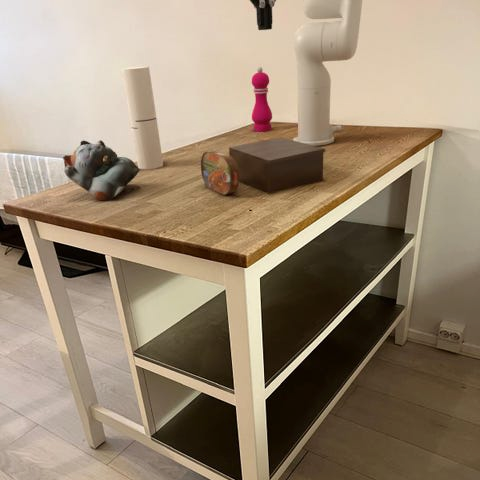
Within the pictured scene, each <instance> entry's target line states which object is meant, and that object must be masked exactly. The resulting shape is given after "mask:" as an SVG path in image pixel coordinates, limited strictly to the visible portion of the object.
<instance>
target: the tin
mask: <svg viewBox="0 0 480 480" xmlns="http://www.w3.org/2000/svg"><path fill="white" fill-rule="evenodd" d="M200 172H201V176H202V180H203V183H204V185H205V186H206V187H207V188H208V189H210V190H212V191H215V192H216V193H218V194H221V195H222V196H225V195H229V194H235V193H236V192H237V191H238V189H239V186H240V181H239V169H238V165H237V163H236V161H235V159H234V158H233V157H231V156H230V155H228V154H226V153H222V152H220V151H216V150H214V151H212V150H211V151H204V152H203V154H202V155H201V159H200Z"/></svg>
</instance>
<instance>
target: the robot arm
mask: <svg viewBox="0 0 480 480" xmlns="http://www.w3.org/2000/svg"><path fill="white" fill-rule="evenodd" d="M249 1H250V3H251V4H252V5H253V9H255V11H256V25H257V29H258V31H267V30H272V29H273V22H274V21H273V8H274V7H275V4H276V2H277V0H249ZM362 8H363V0H303V12H304V15H305V16H306V18H308V19H309V20H310V19H311V20H330V19H341V20H335V21H317V22H309V23H305V24H303V25H300V27H298V28H297V29H296V31H295V32H294V33H295V34H294V36H293V37H294V38H293V48H294V53H295V59H296V70H297V72H296V73H297V136H295V137H293V139H292V140H293V141H297V142H301V143H305V144H309V145H313V146H317V147H321V146H325V145H330V144H332V143H334V142H335V136H334V135H333V134H334V133H340V132H342V130H343V126H342V125H341V124H338V125H334V126H333V124H330V118H331V86H332V85H331V84H332V83H331V82H332V81H331V80H332V79H331V75H330V72H329V70H328V69H327V68H326V66H325V64H324V63H323V62H341V61H348V60H352V58H353V57H354V56H355V54H356V51H357V47H358V41H359V34H360V25H361V18H362V17H361V16H362Z"/></svg>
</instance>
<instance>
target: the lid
mask: <svg viewBox="0 0 480 480" xmlns="http://www.w3.org/2000/svg"><path fill="white" fill-rule="evenodd" d="M229 150H230V151H233V152H236V153H239V154H242V155H245V156H248V157H251V158H254V159H257V160H260V161H263V162H266V163H268V164H271V163H275V162H280V161H284V160H289V159H294V158H298V157H303V156H307V155H312V154H317V153H321V152H324V153H325V152H326V148H324V147H321V146H313V145H309V144H305V143H301V142H297V141H293V139H289V138H284V137H281V136H279V137H276V138H270V139H265V140H260V141H255V142H249V143H245V144H239V145H234V146H229V147H228V151H229Z"/></svg>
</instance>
